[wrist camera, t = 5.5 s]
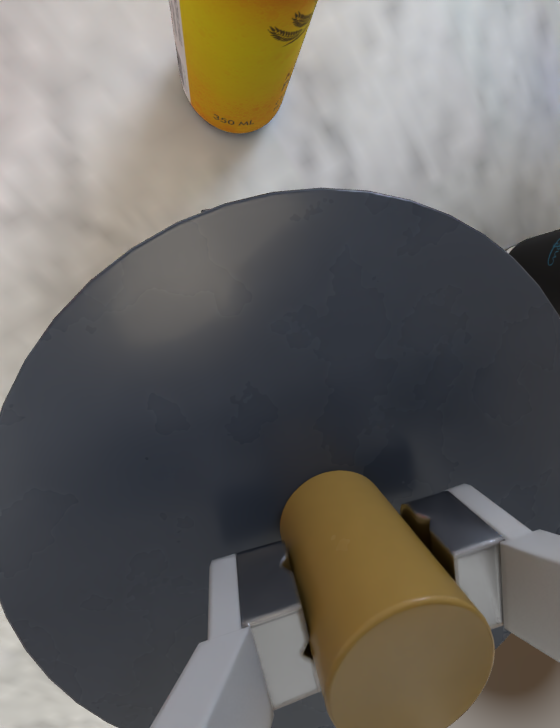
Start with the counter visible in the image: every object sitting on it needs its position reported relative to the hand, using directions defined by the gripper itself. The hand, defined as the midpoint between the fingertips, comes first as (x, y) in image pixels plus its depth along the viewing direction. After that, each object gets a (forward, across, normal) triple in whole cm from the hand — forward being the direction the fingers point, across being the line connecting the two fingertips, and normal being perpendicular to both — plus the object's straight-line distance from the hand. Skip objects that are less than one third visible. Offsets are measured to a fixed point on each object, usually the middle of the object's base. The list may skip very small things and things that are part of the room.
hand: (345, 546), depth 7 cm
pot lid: (+2, 0, 0) cm, 2 cm away
